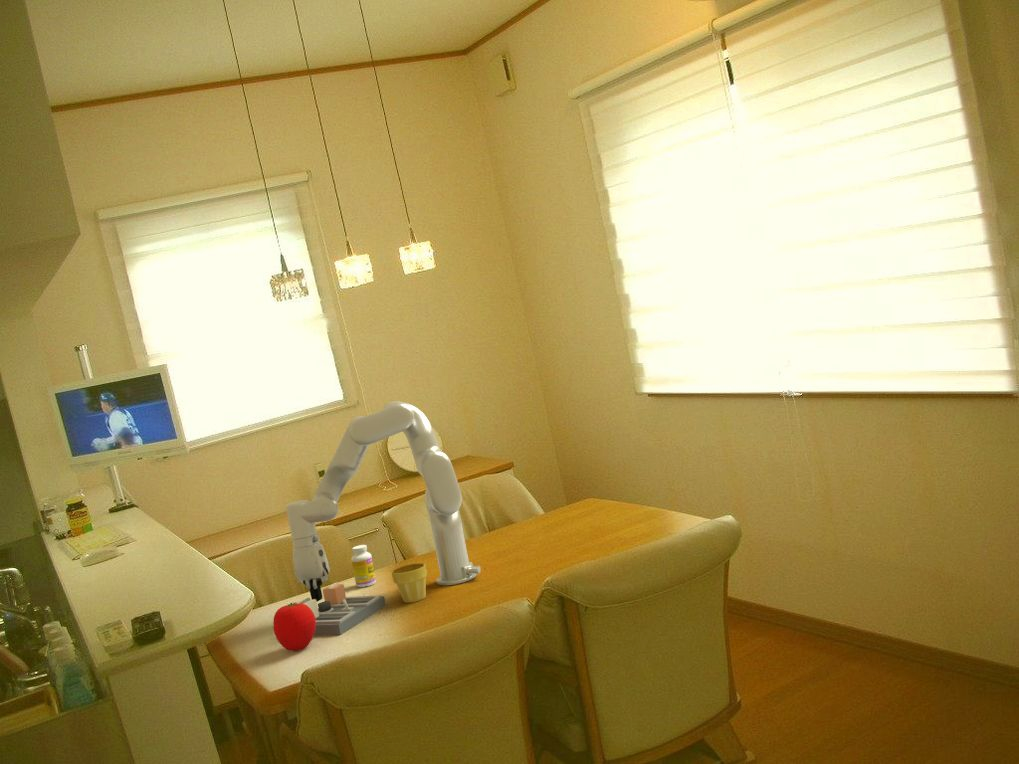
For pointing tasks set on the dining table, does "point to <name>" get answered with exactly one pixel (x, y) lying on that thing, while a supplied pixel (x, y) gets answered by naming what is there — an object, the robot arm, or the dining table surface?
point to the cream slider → (311, 606)
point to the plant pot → (411, 581)
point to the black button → (324, 606)
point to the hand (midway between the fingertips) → (317, 600)
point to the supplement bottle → (363, 566)
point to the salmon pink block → (334, 593)
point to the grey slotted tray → (347, 614)
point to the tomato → (294, 626)
